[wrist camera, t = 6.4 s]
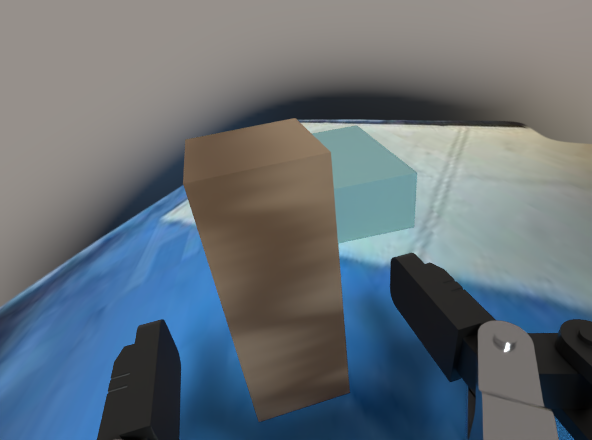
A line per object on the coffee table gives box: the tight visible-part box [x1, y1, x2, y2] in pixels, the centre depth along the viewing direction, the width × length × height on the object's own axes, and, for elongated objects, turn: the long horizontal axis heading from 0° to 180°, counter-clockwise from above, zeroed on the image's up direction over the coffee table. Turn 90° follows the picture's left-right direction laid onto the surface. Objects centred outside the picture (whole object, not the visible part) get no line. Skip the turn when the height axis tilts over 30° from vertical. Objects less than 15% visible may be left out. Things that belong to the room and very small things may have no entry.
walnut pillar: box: [183, 118, 350, 422], centre depth 15 cm, size 4×4×12 cm
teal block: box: [312, 126, 417, 243], centre depth 32 cm, size 13×13×5 cm
